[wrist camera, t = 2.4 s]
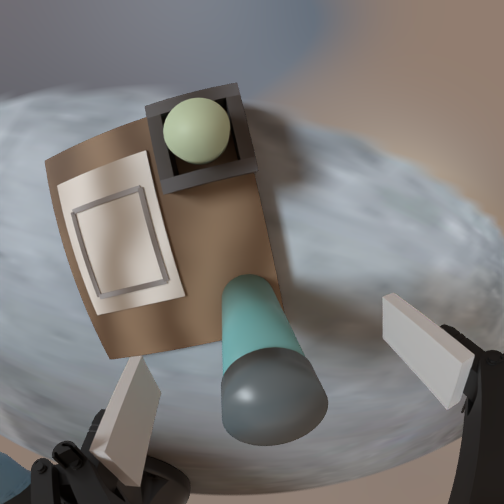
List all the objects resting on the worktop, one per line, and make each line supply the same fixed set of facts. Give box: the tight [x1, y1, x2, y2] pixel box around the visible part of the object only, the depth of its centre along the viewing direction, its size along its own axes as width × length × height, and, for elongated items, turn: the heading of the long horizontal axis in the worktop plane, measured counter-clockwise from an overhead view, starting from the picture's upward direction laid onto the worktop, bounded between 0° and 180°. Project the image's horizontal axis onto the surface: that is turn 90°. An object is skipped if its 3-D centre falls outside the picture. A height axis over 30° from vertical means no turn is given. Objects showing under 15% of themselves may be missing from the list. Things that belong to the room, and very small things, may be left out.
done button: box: [163, 98, 230, 165], centre depth 15 cm, size 4×4×3 cm
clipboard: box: [45, 83, 285, 359], centre depth 19 cm, size 16×18×4 cm
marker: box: [221, 274, 328, 446], centre depth 15 cm, size 4×4×12 cm
